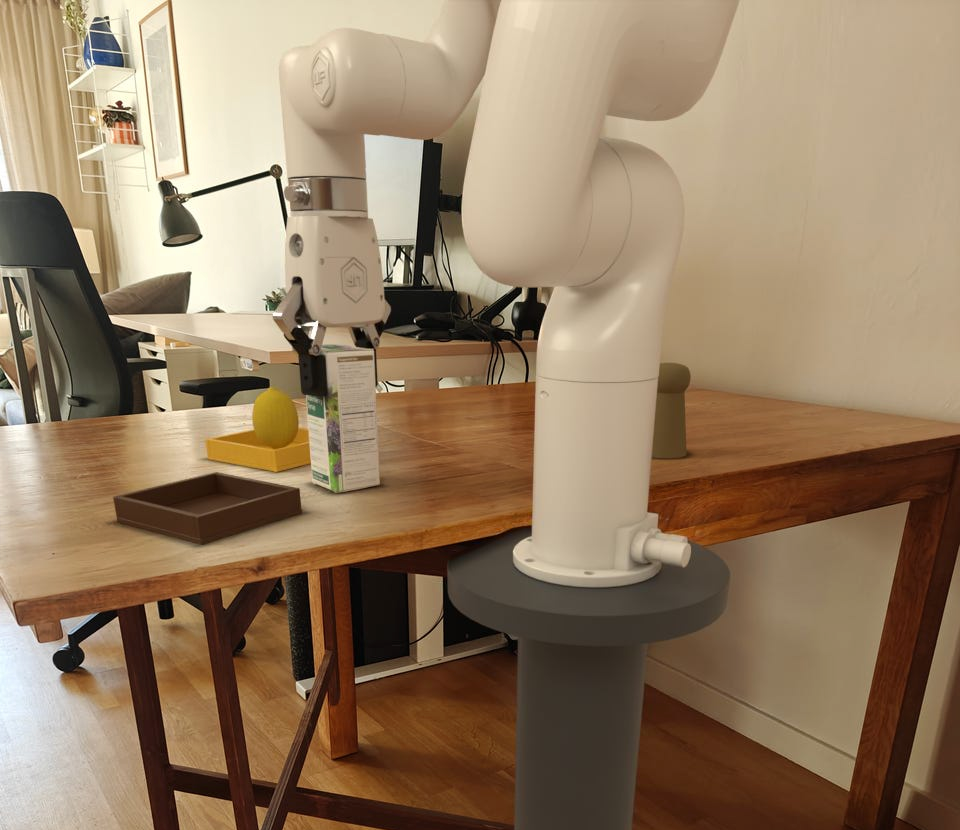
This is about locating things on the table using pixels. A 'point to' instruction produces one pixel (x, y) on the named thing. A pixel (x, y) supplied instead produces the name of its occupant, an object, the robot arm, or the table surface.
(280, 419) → the lemon
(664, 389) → the cork
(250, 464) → the yellow tray
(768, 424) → the table surface
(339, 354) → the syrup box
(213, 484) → the brown tray
